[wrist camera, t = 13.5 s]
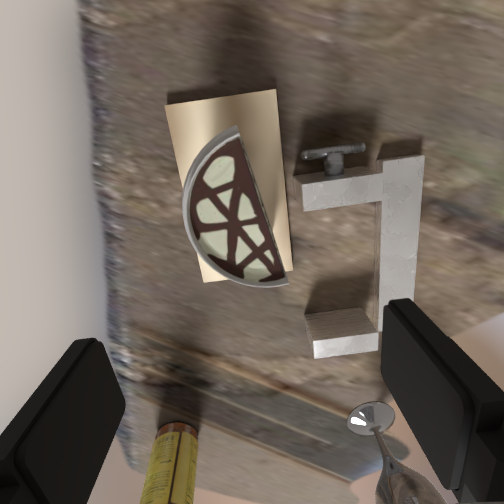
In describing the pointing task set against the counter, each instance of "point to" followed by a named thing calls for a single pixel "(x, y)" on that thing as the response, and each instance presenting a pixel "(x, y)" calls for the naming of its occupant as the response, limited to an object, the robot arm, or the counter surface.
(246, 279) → the food container
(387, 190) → the vise
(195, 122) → the light wood flat board
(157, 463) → the sauce bottle
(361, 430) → the wine glass
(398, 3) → the counter surface
